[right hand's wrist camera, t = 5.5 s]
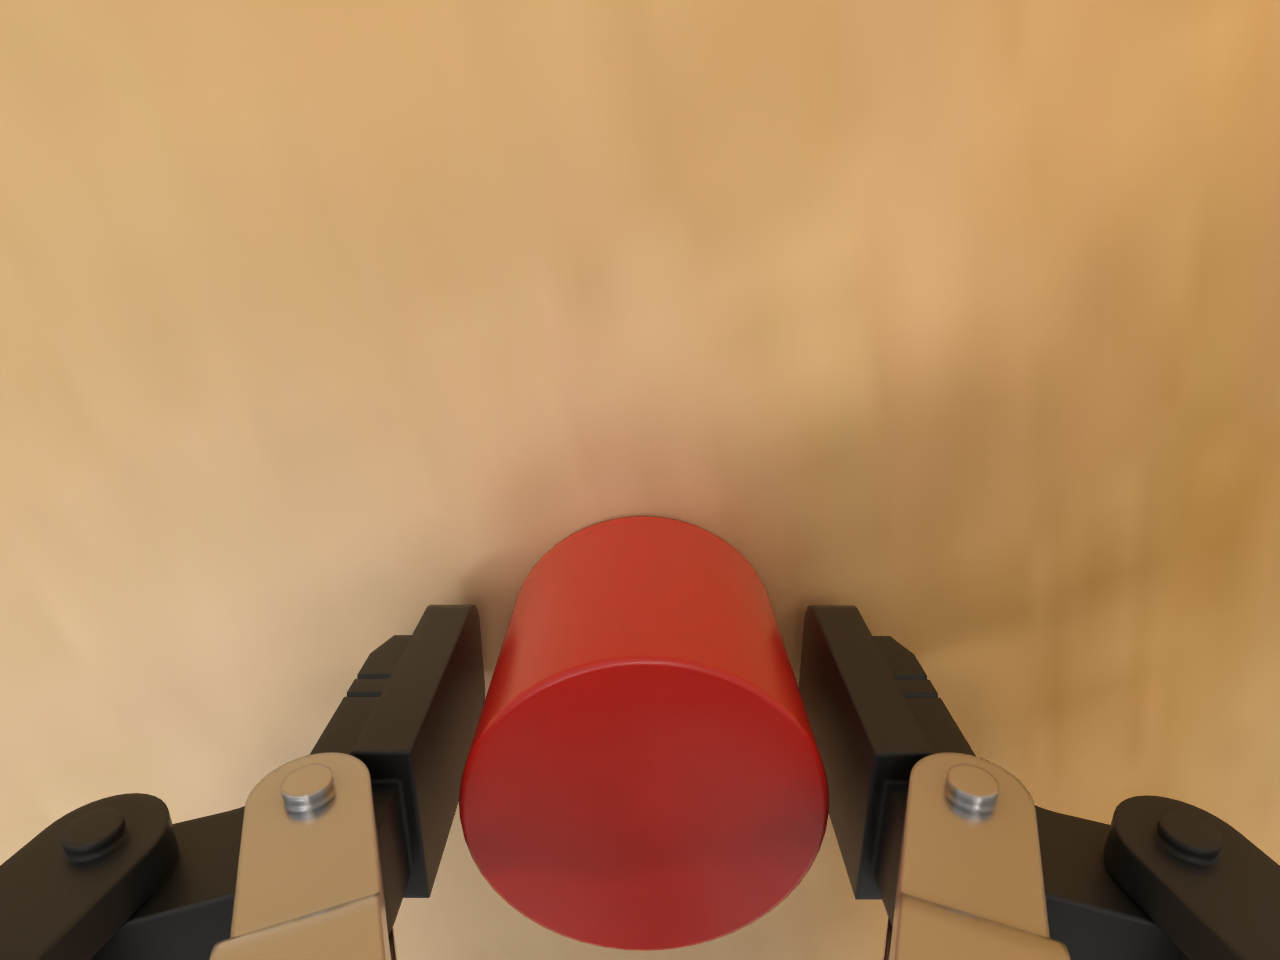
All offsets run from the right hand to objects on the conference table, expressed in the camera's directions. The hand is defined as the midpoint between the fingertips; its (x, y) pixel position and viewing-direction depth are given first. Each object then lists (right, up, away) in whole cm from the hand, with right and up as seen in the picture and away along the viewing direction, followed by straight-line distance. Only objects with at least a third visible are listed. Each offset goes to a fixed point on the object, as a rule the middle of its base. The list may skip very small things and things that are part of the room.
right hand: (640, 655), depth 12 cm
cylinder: (0, 0, +1) cm, 1 cm away
